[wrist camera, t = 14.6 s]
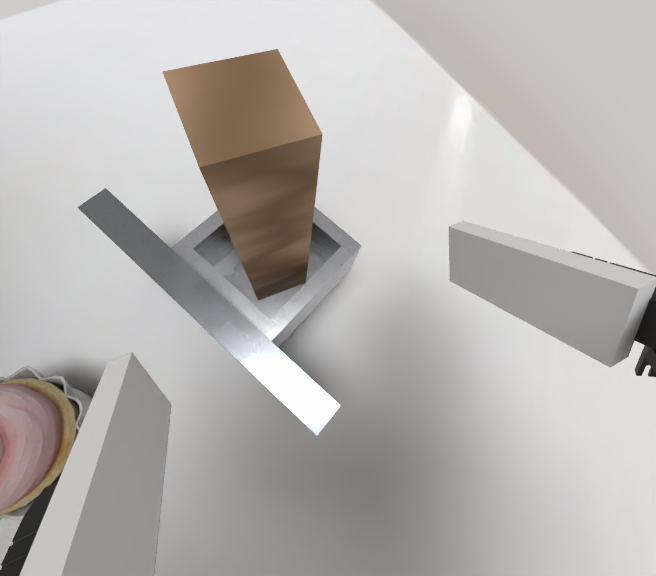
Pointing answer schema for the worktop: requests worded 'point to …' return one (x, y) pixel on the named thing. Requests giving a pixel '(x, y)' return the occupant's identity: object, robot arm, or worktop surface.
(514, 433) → the worktop surface
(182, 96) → the post
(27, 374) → the cupcake
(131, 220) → the cup bracket
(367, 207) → the worktop surface
